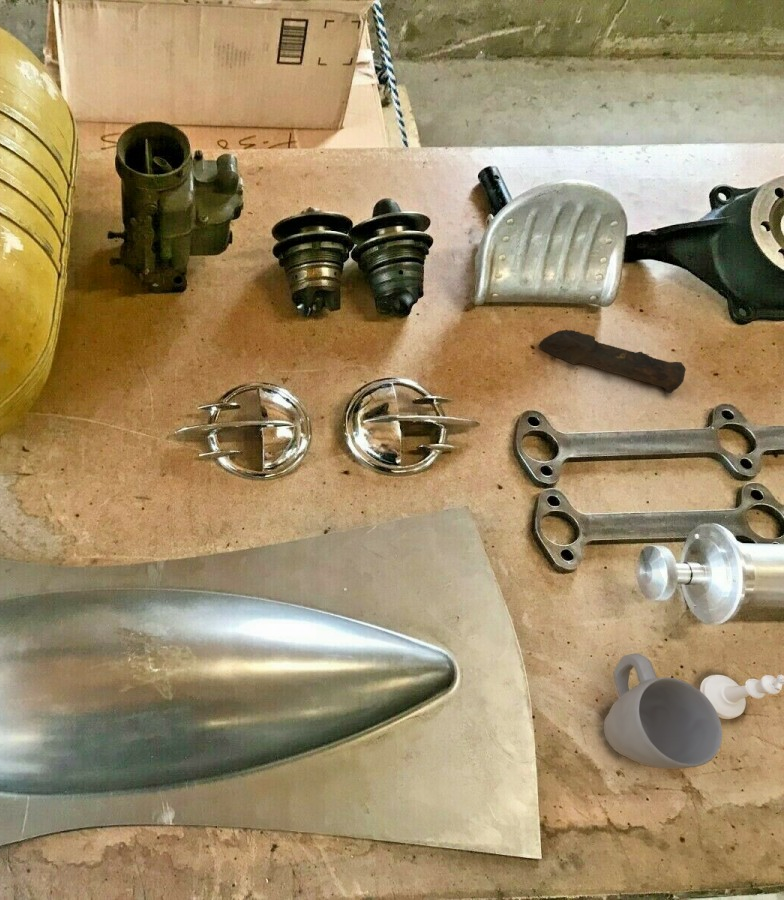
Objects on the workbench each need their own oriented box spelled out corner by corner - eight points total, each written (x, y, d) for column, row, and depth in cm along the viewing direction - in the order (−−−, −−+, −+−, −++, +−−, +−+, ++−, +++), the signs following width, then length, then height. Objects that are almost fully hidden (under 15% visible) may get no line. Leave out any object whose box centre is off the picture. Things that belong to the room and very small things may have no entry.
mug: (679, 767, 87) (739, 759, 79) (606, 781, 86) (659, 773, 78) (634, 659, 93) (686, 640, 84) (565, 671, 92) (611, 652, 83)
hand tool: (670, 375, 112) (691, 356, 107) (669, 397, 110) (690, 380, 106) (539, 333, 114) (554, 313, 109) (535, 354, 112) (551, 335, 108)
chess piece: (747, 691, 92) (813, 674, 83) (736, 727, 90) (803, 715, 81) (706, 666, 93) (768, 648, 84) (694, 702, 91) (756, 687, 82)
